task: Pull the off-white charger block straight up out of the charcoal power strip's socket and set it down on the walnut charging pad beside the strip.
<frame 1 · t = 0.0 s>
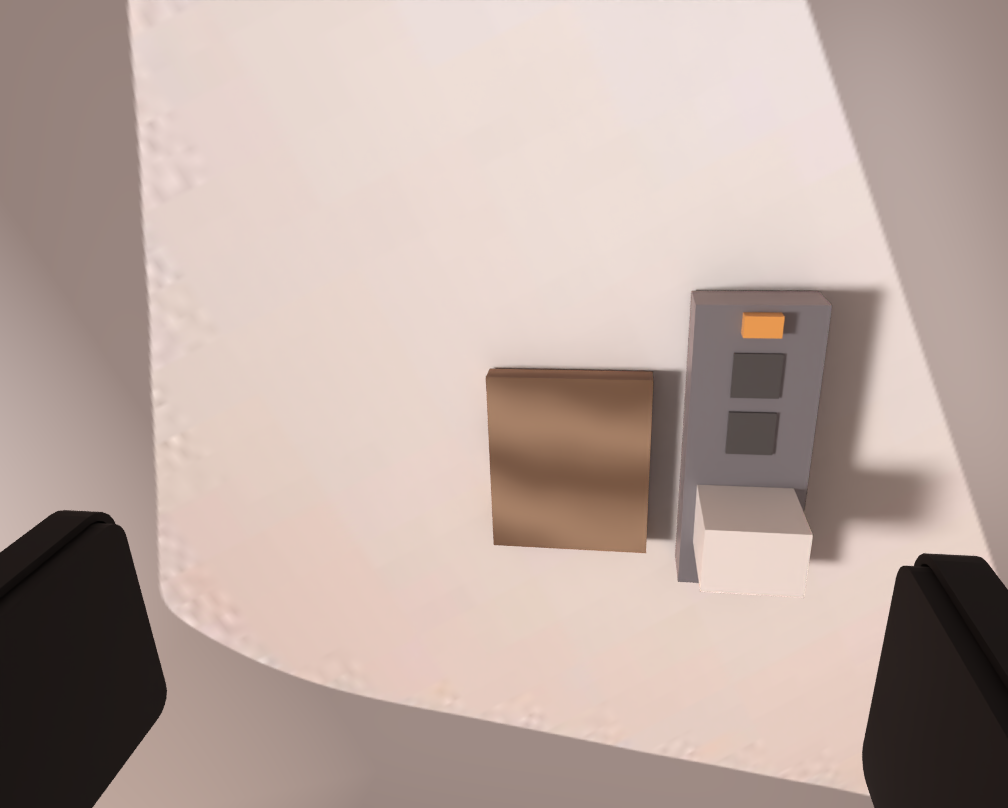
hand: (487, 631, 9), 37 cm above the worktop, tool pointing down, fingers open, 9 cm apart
power strip: (740, 434, 47), on the worktop
charger: (738, 503, 47), point 1 cm above the worktop, touching power strip
charging pad: (570, 457, 49), on the worktop
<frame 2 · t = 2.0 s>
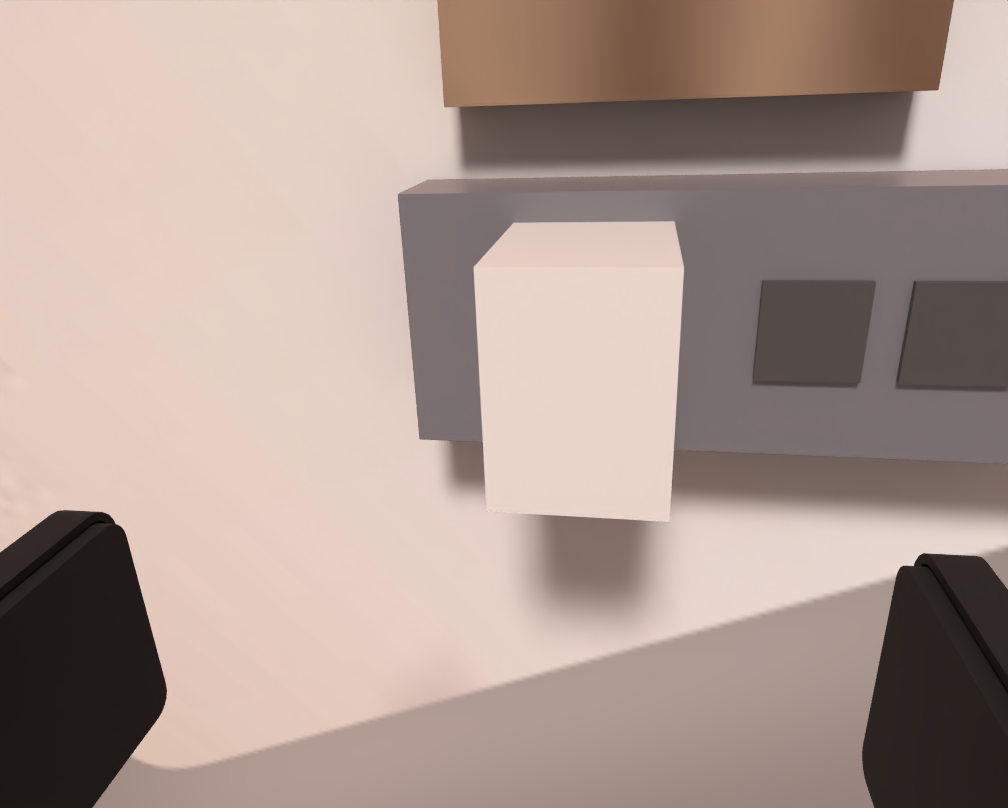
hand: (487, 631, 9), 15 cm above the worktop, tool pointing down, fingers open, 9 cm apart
power strip: (736, 298, 22), on the worktop
charger: (595, 311, 21), point 1 cm above the worktop, touching power strip
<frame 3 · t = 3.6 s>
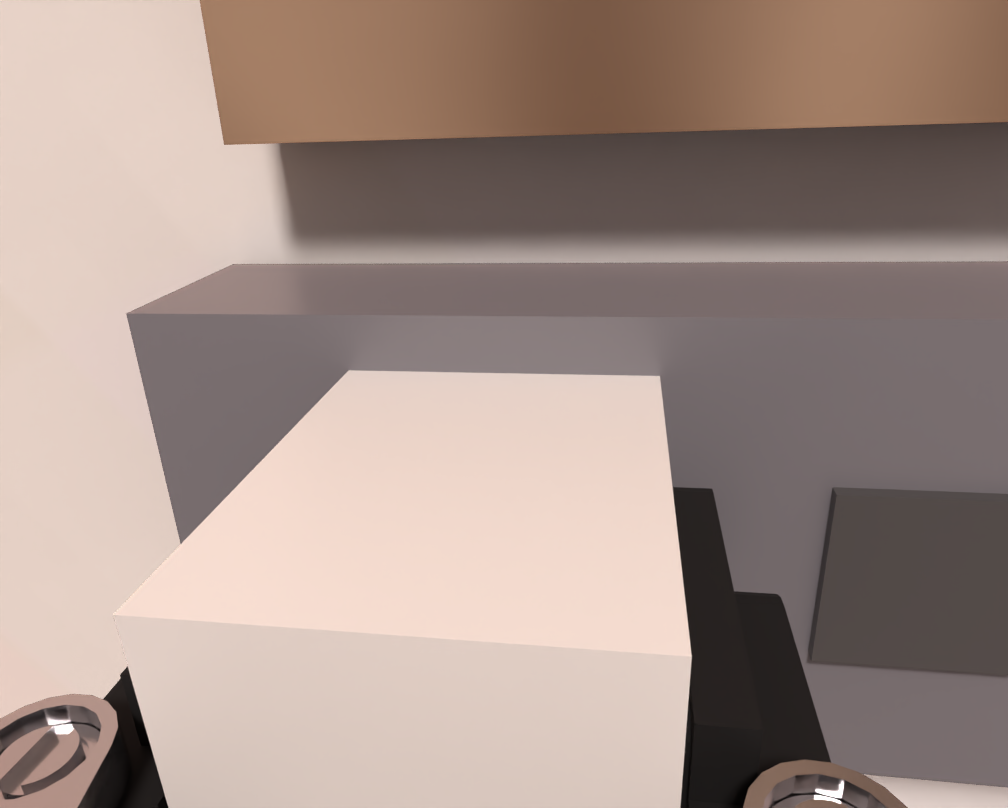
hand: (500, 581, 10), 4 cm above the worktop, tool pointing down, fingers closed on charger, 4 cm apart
power strip: (766, 467, 13), on the worktop
charger: (520, 502, 12), point 2 cm above the worktop, touching gripper, power strip
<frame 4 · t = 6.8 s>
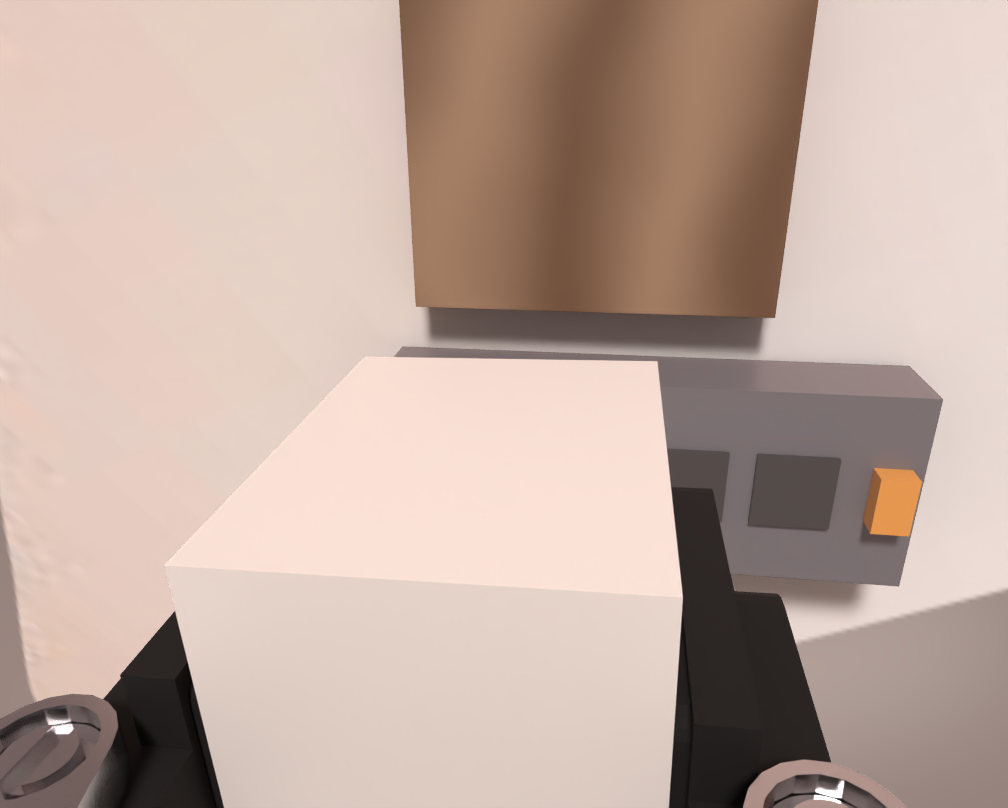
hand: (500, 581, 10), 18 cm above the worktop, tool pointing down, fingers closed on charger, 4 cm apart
power strip: (639, 443, 29), on the worktop
charger: (525, 484, 13), point 15 cm above the worktop, touching gripper
charging pad: (597, 152, 25), on the worktop
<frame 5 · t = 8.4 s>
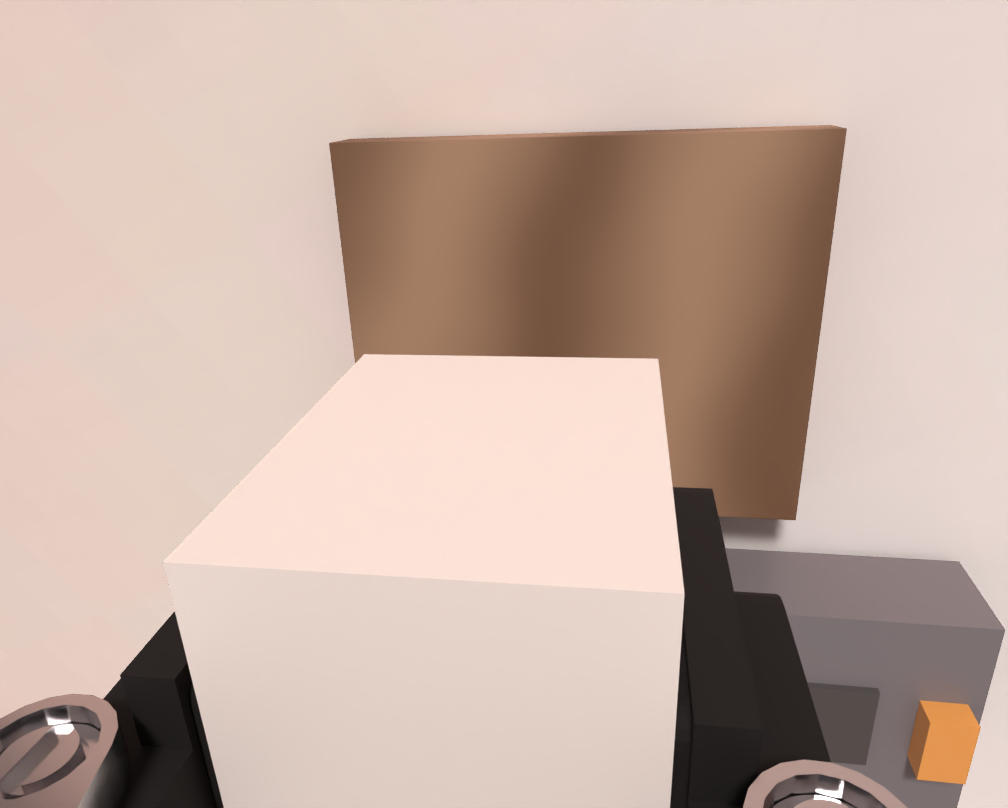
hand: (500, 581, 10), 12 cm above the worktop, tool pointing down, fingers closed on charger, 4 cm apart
power strip: (638, 635, 25), on the worktop
charger: (525, 482, 13), point 9 cm above the worktop, touching gripper
charging pad: (577, 324, 21), on the worktop
when the fingers open (5 cm above the worktop, at t = 9.9 s): charger stays where it is, resting on charging pad.
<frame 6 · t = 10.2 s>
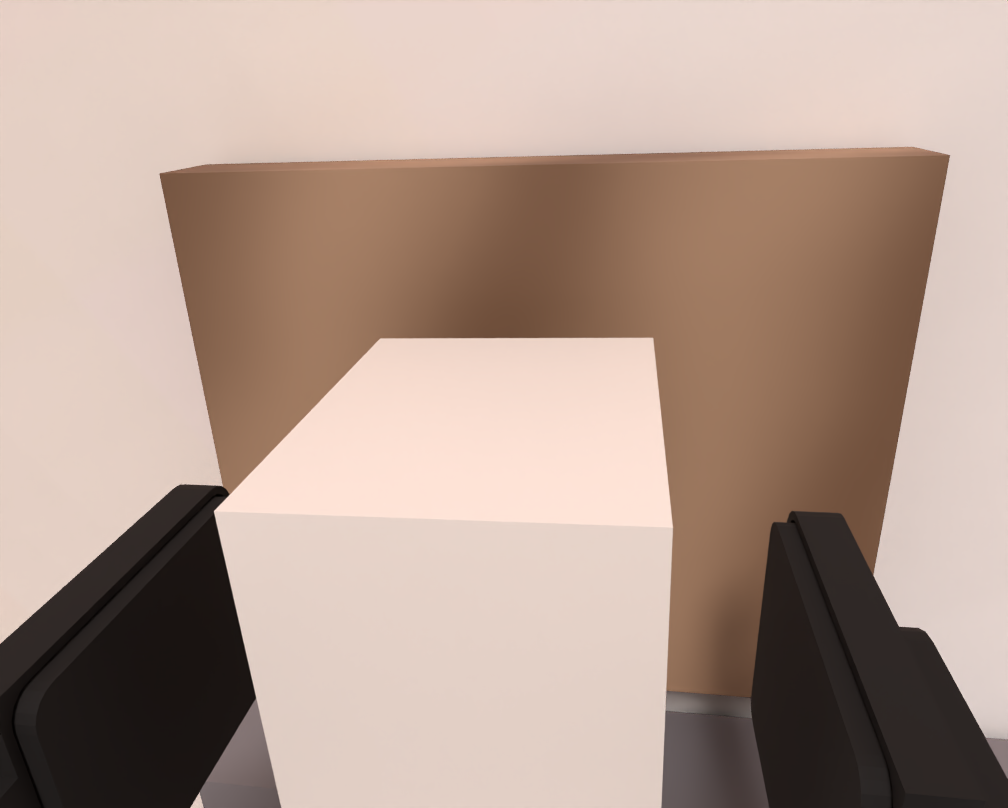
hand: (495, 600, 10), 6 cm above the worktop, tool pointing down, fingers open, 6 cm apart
charger: (531, 460, 13), point 1 cm above the worktop, touching charging pad
charging pad: (539, 424, 15), on the worktop
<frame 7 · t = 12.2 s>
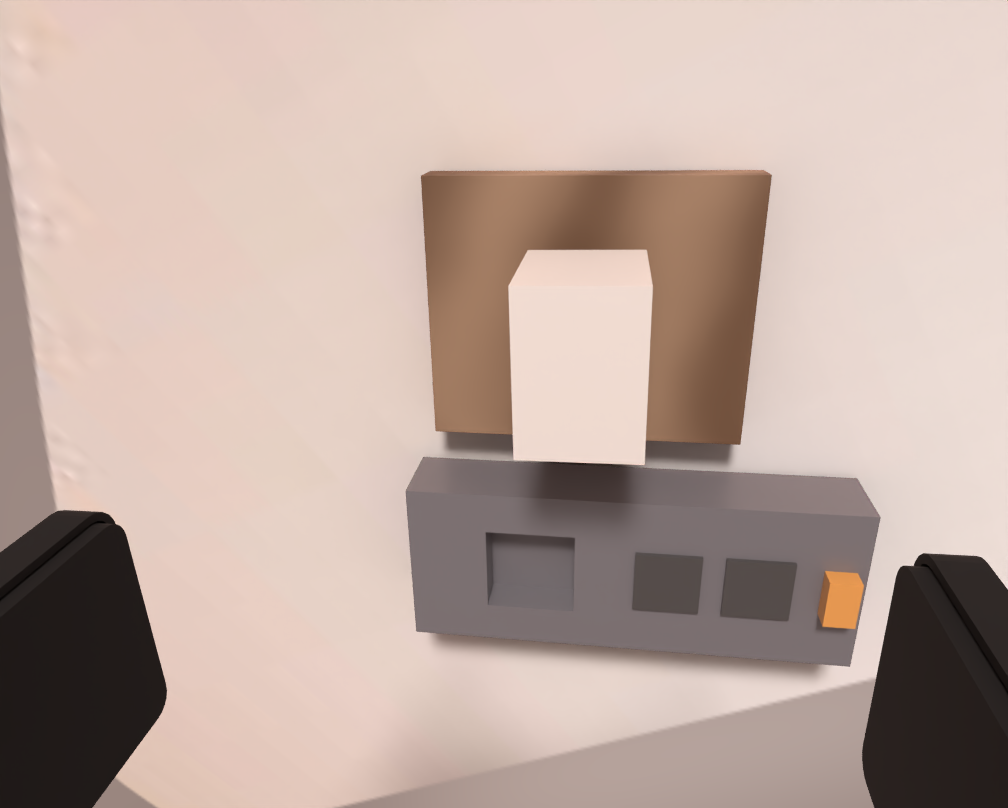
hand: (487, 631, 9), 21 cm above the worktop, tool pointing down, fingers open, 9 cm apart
power strip: (628, 538, 33), on the worktop
charger: (587, 315, 28), point 1 cm above the worktop, touching charging pad
charging pad: (588, 304, 29), on the worktop
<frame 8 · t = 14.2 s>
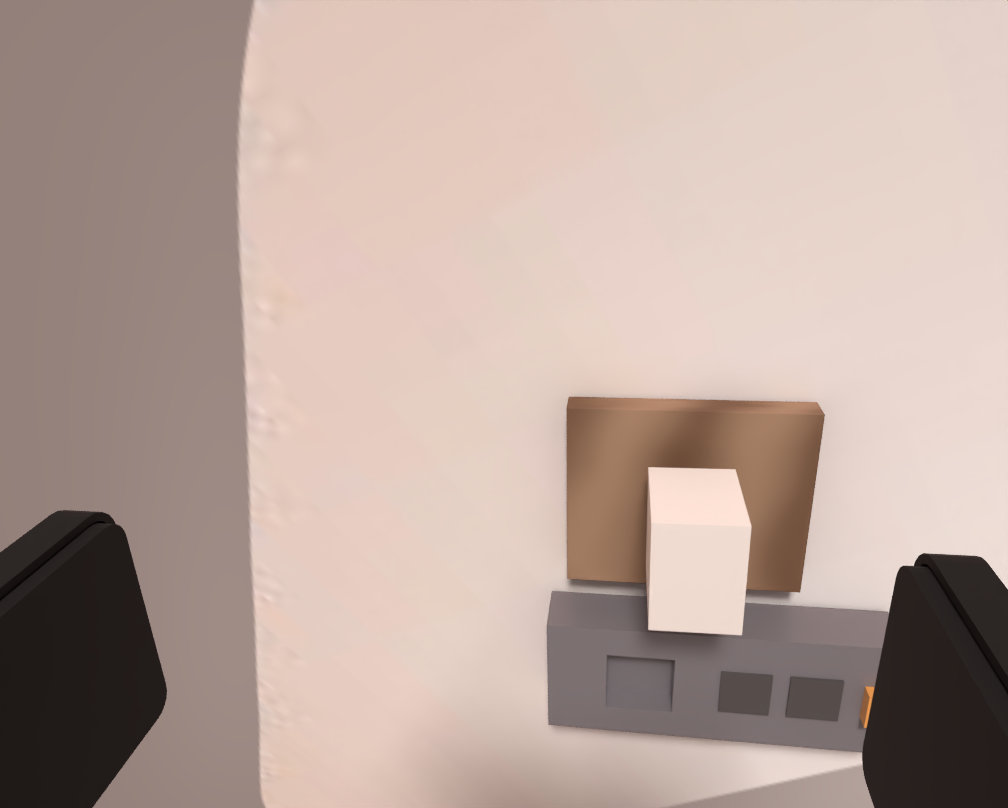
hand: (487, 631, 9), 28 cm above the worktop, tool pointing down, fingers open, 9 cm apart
power strip: (710, 651, 43), on the worktop
charger: (686, 503, 38), point 1 cm above the worktop, touching charging pad
charging pad: (684, 488, 39), on the worktop
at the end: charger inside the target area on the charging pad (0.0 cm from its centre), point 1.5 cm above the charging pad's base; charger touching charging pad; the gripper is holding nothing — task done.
